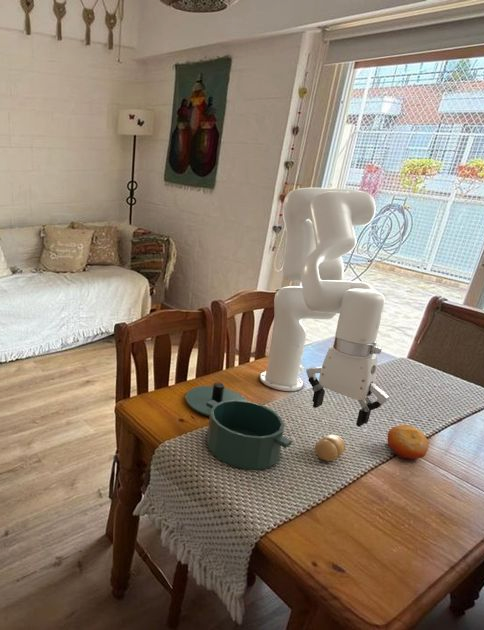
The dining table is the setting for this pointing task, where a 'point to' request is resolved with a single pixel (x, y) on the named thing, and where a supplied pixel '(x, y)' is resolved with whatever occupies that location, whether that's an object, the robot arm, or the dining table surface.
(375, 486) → the dining table surface
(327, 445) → the tan rounded piece
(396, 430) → the fruit
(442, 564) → the dining table surface
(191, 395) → the lid
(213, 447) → the pot
